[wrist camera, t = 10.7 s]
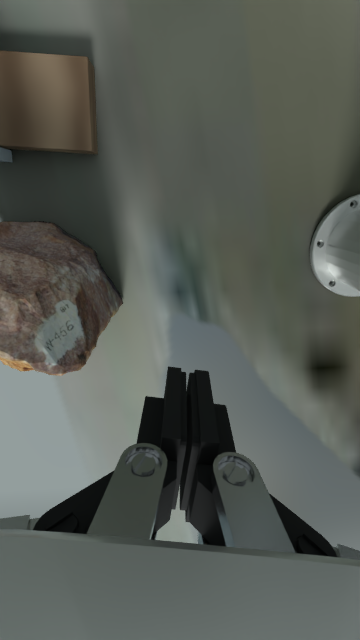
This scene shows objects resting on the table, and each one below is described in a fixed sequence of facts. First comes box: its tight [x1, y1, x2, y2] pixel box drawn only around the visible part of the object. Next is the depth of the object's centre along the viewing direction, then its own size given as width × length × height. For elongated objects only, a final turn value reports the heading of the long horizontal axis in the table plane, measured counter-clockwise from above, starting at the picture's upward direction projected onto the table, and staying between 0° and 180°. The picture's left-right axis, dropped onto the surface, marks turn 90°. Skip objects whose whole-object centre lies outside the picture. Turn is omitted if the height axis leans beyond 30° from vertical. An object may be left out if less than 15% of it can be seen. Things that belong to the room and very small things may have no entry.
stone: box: [0, 221, 123, 376], centre depth 30 cm, size 19×11×20 cm, turn 57°
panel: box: [0, 51, 98, 154], centre depth 32 cm, size 14×8×3 cm, turn 87°
